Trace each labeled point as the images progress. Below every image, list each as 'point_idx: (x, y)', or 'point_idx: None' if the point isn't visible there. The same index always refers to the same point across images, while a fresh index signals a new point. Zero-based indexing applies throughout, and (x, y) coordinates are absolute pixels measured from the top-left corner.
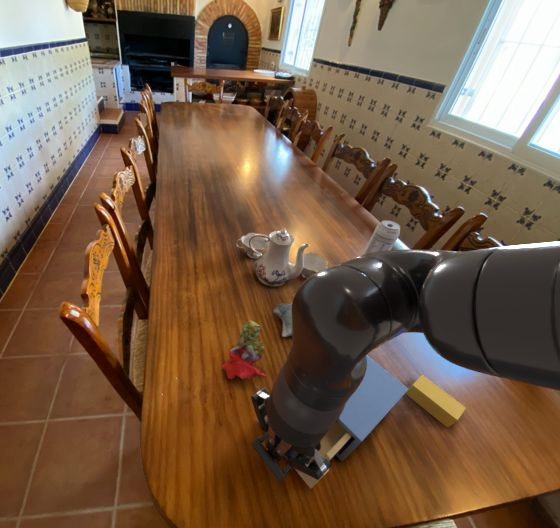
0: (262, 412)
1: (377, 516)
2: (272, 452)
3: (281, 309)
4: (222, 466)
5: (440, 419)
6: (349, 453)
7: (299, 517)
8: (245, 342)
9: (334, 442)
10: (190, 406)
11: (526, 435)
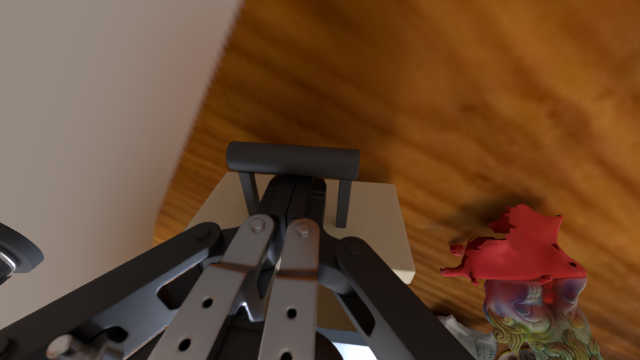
0: (398, 350)
1: (165, 210)
2: (291, 189)
3: (486, 351)
4: (387, 30)
5: None
6: None
7: (202, 118)
8: (563, 331)
9: None
10: (605, 60)
11: None
